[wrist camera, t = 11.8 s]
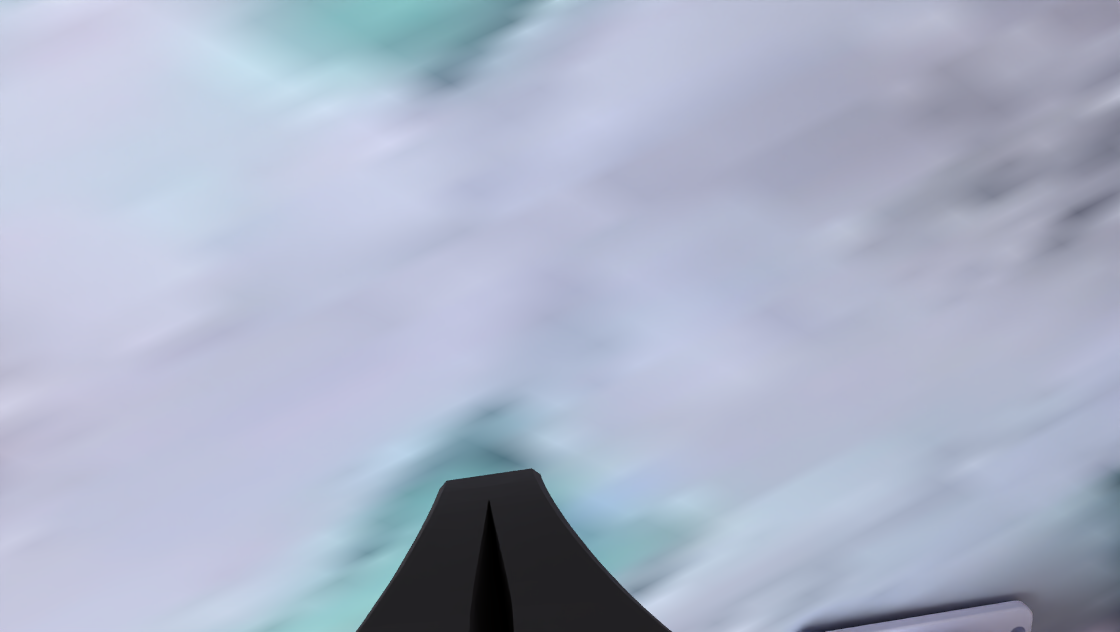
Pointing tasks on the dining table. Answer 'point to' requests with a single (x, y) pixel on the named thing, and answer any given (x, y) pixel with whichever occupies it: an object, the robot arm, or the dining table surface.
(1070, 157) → the dining table surface
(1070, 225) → the dining table surface
